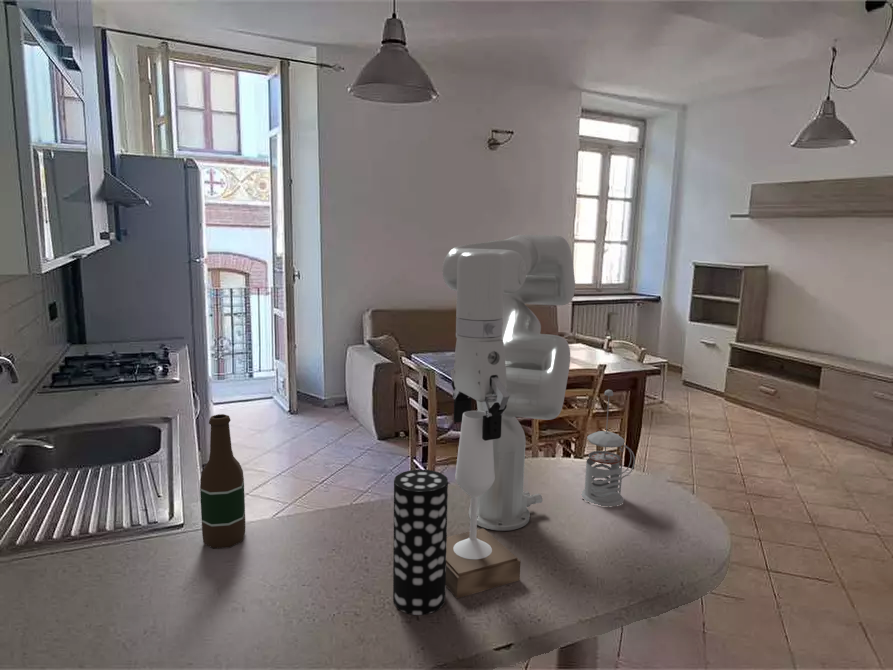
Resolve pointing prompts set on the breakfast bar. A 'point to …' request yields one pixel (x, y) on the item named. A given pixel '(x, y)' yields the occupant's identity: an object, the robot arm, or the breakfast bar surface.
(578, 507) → the breakfast bar surface
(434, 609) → the spotted tube
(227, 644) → the breakfast bar surface
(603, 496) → the french press
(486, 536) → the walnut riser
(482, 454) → the champagne flute
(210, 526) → the beer bottle
